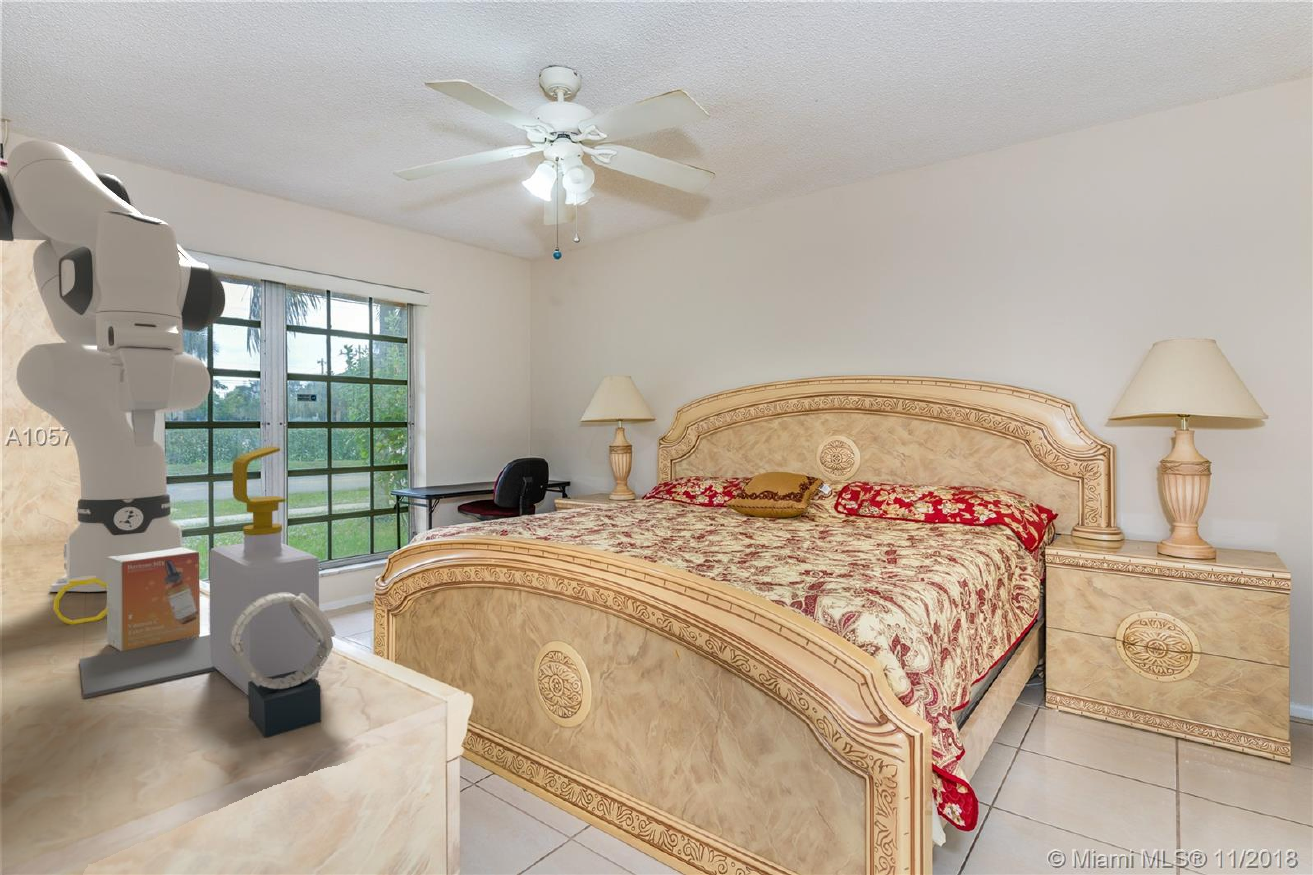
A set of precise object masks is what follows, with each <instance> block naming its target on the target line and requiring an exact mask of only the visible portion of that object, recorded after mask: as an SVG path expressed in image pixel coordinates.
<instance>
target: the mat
mask: <svg viewBox="0 0 1313 875" xmlns="http://www.w3.org/2000/svg"><path fill="white" fill-rule="evenodd" d="M78 660H79V670H80V679H81V686H82V694H83V695H82V696H83V699H87V698H92V697H97V696H102V695H106V694H111V693H116V692H121V691H125V690H130V689H134V688H138V687H144V686H149V685H153V684H157V683H162V682H166V681H167V682H168V681H172V680H176V679H181V678H186V677H190V676H196V675H199V674H203V673H209V672H213V671H216V670H217V669H216V668H215V667H214V666H213V665H212V662H211V660H210V634H209V635H202V636H197V637H192V638H187V639H182V640H176V641H171V642H165V643H160V644H155V645H150V646H146V647H141V648H136V649H131V650H125V651H120V650H119V651H116V652H115V651H114V652H111V653H110V652H109V653H105V654H104V653H103V654H98V655H94V656H88V657H83V658H79V659H78ZM217 671H218V670H217Z"/></svg>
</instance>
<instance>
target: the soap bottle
mask: <svg viewBox="0 0 1313 875" xmlns="http://www.w3.org/2000/svg"><path fill="white" fill-rule="evenodd" d="M280 451H281V448H280V447H279V446H278V447H277V446H273V445H270V446H264V447H262V448H261V447H260V448H258V449H255V450H252V451H249V452H248V451H247V452H246V453H243V454H240V455H239V456H237V457H236V458H235V459H234V460H233V463H232V495H233V498H234V499H235V500H237V501H238V502H241V503H243V504H246V512H247V513H252V524H249V525H245V526H243V527H242V533H243V536H244V537H243V539H244V541H243V542H244V543H238V544H237V543H236V544H228V545H220V546H215V547H213V548H210V550H209V556H208V557H209V562H208V563H209V566H208V567H209V635H210V660H211V662H212V665H213V666H214V667H215V668H216V669H217V671H218V672H220V673H221V675H223V676H224V677H226V679H228V680H229V681H230V682H231V683H232V684H234V685H235V686H236V687H237V688H239V689H240V690H241V691H242V692H243V694H245V695H246V696H248V682H250V681H251V680H250V679H249V677H248V676H247V675H246V674H245V673H244V672H243V671H242V670H241V668H240V667H239V666H238V664H237V663H236V661H235V659H234V657H233V655H232V653H231V651H230V648H229V646H231V644H230V634H231V631H232V627H233V625H234V622H235V621H236V619H237V618H238V616H239V615H240V614H241V612H242V611H243V610H245V608H246V607H247V606H249V605H250V604H251V603H253V602H255V601H256V600H257V599H259V598H261V597H264V596H267V595H270V594H274V593H277V594H278V593H281V592H288V593H291V594H293V595H295V596H297V597H298V596H299V594H300V593H304V594H306V595H307V596H308V597H309V598H310V599H311V600H312V601H313V602H314V603H315V604H316V605H317V606H318V608H319V609H320V596H319V595H320V566H319V565H320V563H319V558H318V557H317V556H316V555H314V554H311V553H308V552H306V551H303V550H302V549H298V548H296V547H293V546H290V545H287V544H286V543H282V531H283V525H282V524H280V523H273V512H276V511H279V503H284V502H285V503H286V499H287V498H285V497H281V496H278V495H277V496H276V495H269V496H257V497H248V480H247V479H248V466H249V464H250V463H251V462H252V461H253V462H254V460H258V459H260V458H264V457H266V456H270V455H272V454H274V453H275V454H276V453H278V452H280ZM255 608H256V607H255ZM240 636H241V638H240V639H241V640H242V641H243V647H244V651H245V652H246V655H247V657H248V659H249V661H250V663H251V664H252V666H253V667H254V669H256V670H259V671H261V672H262V673H263V678H267V677H272V676H276V675H280V674H284V673H288V672H293V671H297V670H300V669H302V668H305V665H306V664H307V663H308V662H309V661H310V660H313V659H312V658H313V656H314V654H315V653H316V651H319V650H318V646H319V644H320V643H318V642H317V641H316V640H315V639H314V638H313V637H312V636H311V635H310V634H309V633H308V632H307V631H306V629H305V628H304V627H303V626H302V625H301V623H300V622H299V621H298V619H297V618H296V617H295V615H294V614H293V612H292V610H291V608H290V601H285V600H284V601H283V602H279V603H273V604H272V605H270V606H268V607H266V608H262V610H261V611H260V612H258V613H257V614H256V615H254V616H253V615H252V618H251V620H250V621H249V622H248V623H247V624H246V625H245V628H244V629H243V632H242V634H241V635H240ZM313 666H314V665H313ZM314 667H315V666H314ZM319 672H320V670H319V671H318V672H317V673H316V674H315V675H312V677H311V678H312V679H313V680H314V681H315V679H317V678H319V674H320V673H319Z"/></svg>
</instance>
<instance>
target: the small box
mask: <svg viewBox="0 0 1313 875" xmlns="http://www.w3.org/2000/svg"><path fill="white" fill-rule="evenodd" d="M106 562H107V563H106V566H107V591H106V606H107V615H106V618H107V619H106V622H107V623H106V626H107V627H106V628H107V629H106V632H107V633H106V634H107V635H106V638H107V640H106V641H107V643H108V645H110V646H111V647H114V648H115V649H116V650H118V651H119V652H120V651H125V650H131V649H136V648H142V647H147V646H153V645H158V644H163V643H169V642H174V641H180V640H185V639H191V638H196V637H200V634H201V605H200V604H201V600H200V595H201V593H200V591H201V590H200V553H199V551H198V550H197V551H196V550H194V549H190V548H187V547H180V548H174V549H168V550H161V551H153V552H146V553H138V554H131V555H123V556H110V557H107V560H106Z"/></svg>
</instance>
